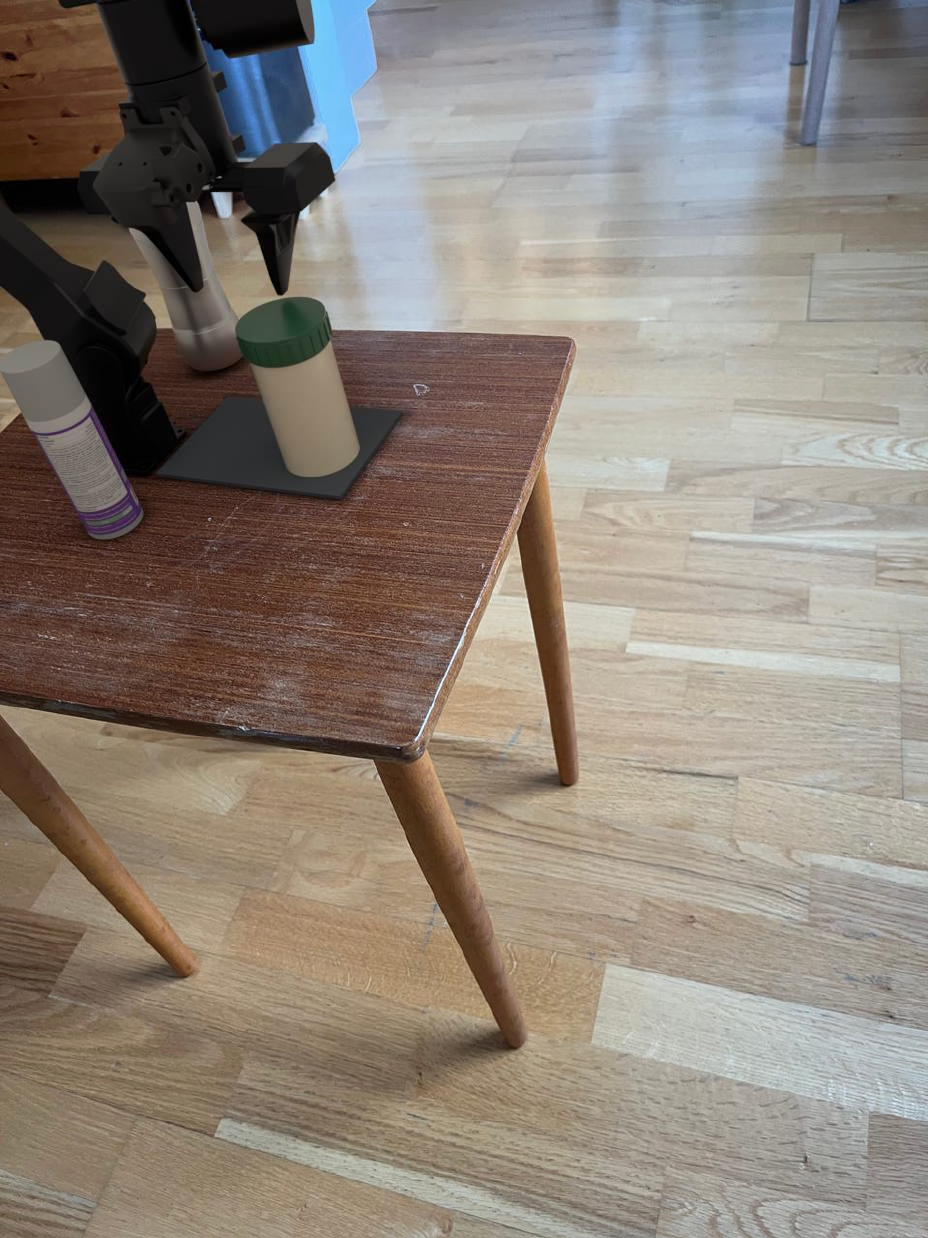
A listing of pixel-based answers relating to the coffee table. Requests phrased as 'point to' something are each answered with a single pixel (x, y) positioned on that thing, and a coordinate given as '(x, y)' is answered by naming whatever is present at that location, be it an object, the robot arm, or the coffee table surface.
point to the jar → (309, 414)
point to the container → (71, 438)
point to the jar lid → (283, 331)
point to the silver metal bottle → (195, 304)
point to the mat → (267, 451)
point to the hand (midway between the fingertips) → (240, 291)
